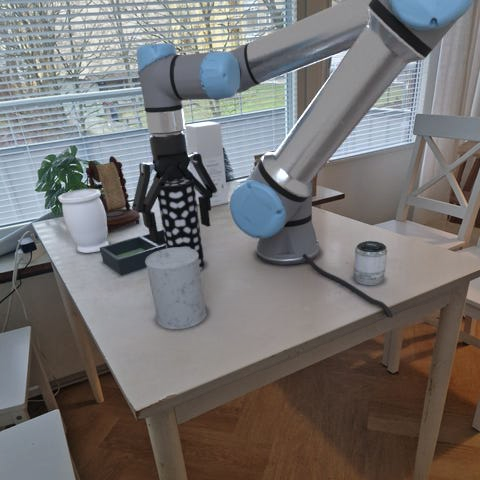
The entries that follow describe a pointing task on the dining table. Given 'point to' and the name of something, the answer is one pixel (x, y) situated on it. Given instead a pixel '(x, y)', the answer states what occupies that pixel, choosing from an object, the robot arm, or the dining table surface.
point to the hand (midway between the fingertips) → (181, 232)
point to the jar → (85, 219)
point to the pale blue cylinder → (176, 287)
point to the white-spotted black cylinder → (181, 216)
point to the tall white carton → (208, 157)
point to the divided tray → (131, 252)
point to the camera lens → (370, 262)
